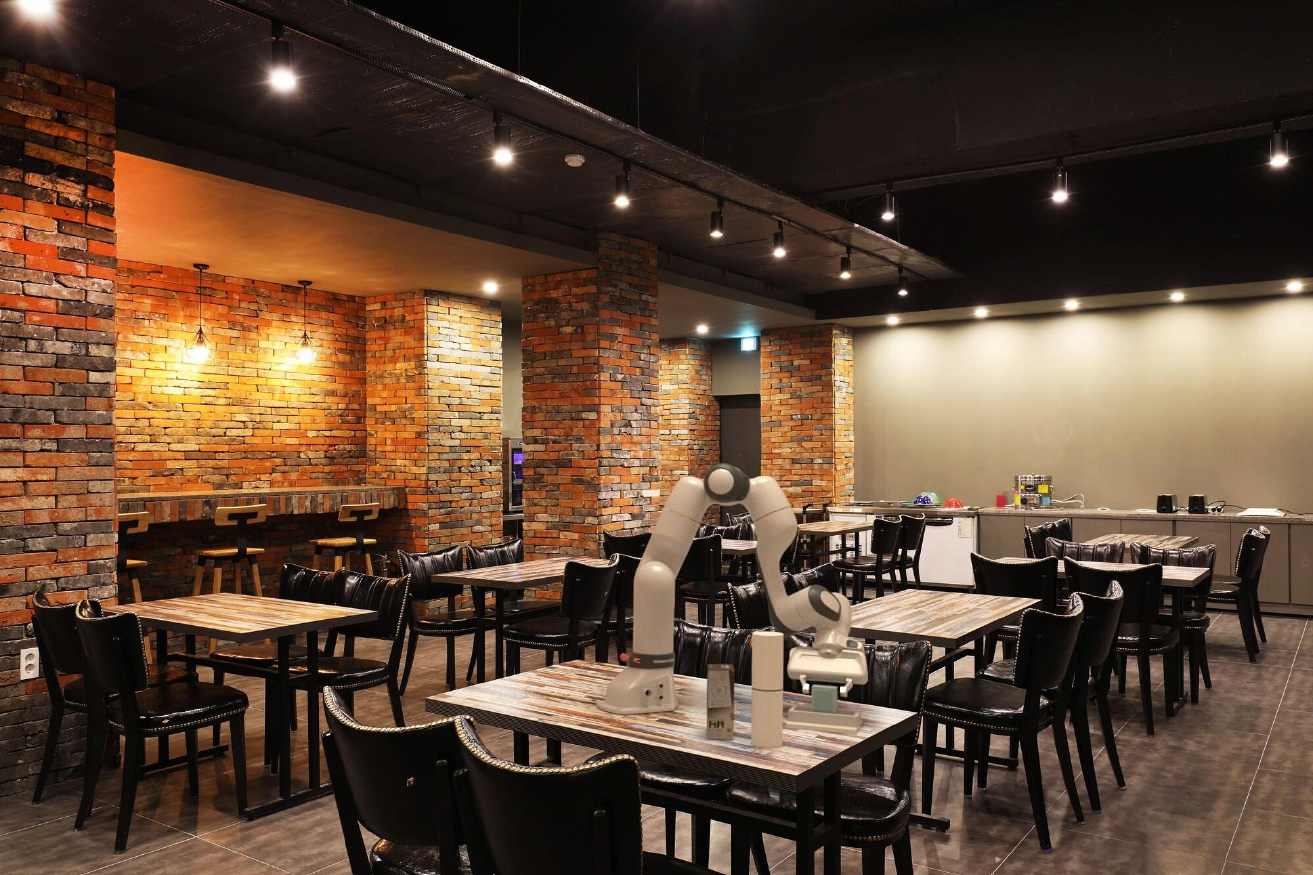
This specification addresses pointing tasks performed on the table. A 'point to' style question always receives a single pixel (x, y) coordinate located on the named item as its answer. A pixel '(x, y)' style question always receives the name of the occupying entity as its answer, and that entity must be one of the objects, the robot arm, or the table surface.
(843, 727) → the track
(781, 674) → the cylindrical container
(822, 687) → the door
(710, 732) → the coffee box
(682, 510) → the robot arm
